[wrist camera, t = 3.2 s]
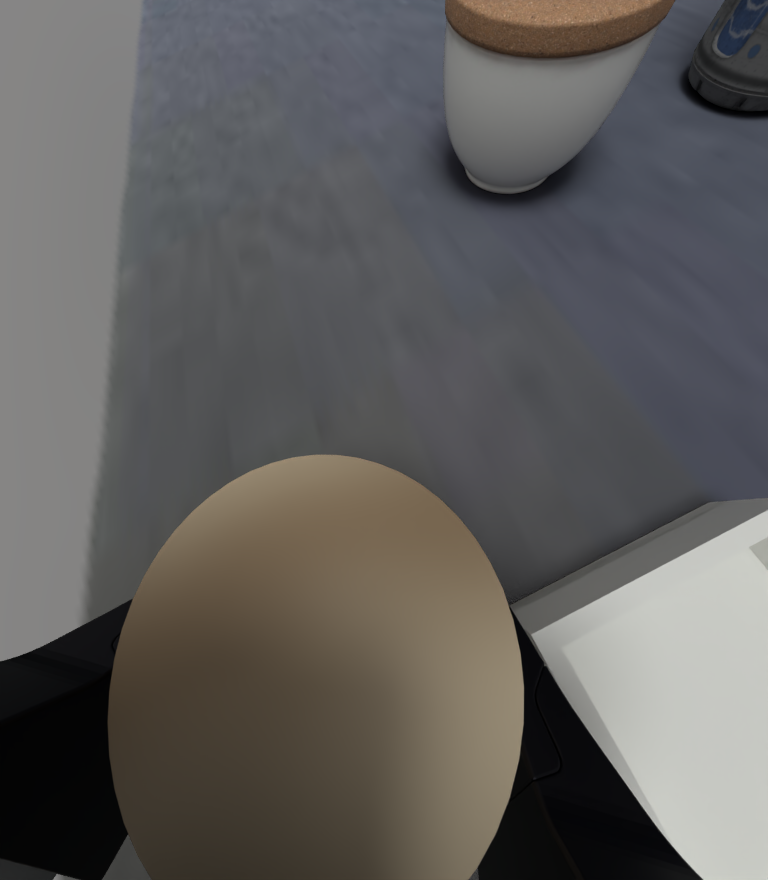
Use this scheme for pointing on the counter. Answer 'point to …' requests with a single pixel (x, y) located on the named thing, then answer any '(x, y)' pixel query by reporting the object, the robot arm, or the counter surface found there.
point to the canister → (316, 685)
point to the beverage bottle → (734, 57)
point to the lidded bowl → (536, 80)
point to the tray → (675, 676)
